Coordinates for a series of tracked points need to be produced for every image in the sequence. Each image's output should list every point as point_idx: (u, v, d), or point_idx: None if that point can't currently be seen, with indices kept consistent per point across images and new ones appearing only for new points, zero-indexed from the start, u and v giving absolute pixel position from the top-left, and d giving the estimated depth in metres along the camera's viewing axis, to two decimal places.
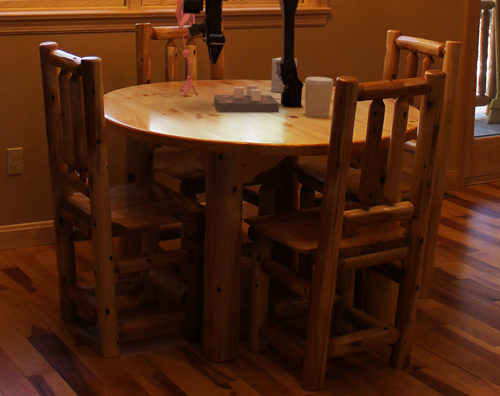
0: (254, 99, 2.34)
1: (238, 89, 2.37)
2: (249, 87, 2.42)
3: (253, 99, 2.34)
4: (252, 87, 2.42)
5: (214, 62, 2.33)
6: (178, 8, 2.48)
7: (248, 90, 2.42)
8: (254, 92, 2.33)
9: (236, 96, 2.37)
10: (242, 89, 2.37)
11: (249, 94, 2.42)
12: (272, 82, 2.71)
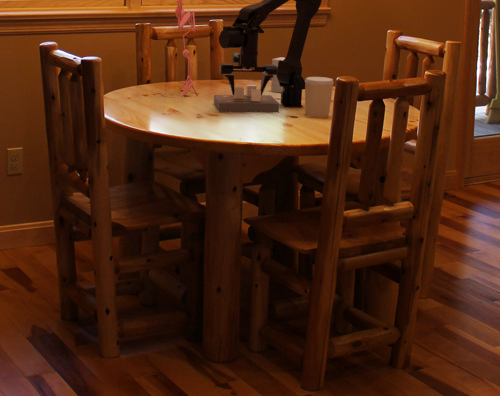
0: (254, 99, 2.34)
1: (238, 89, 2.37)
2: (249, 87, 2.42)
3: (253, 99, 2.34)
4: (252, 87, 2.42)
5: (232, 93, 2.33)
6: (178, 8, 2.48)
7: (248, 90, 2.42)
8: (254, 92, 2.33)
9: (236, 96, 2.37)
10: (242, 89, 2.37)
11: (249, 94, 2.42)
12: (272, 82, 2.71)
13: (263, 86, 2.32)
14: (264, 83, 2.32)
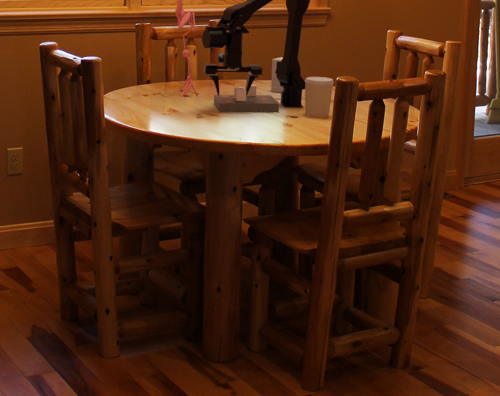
0: (239, 99, 2.33)
1: None
2: None
3: (238, 99, 2.33)
4: (252, 87, 2.42)
5: (217, 93, 2.32)
6: (178, 8, 2.48)
7: None
8: (239, 92, 2.32)
9: None
10: None
11: (249, 94, 2.42)
12: (272, 82, 2.71)
13: (248, 86, 2.32)
14: (249, 83, 2.31)
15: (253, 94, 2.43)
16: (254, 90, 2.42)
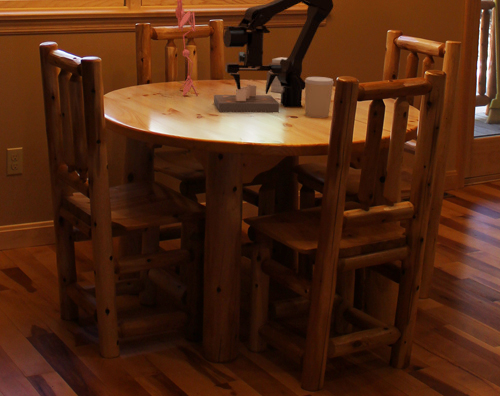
0: (239, 99, 2.33)
1: None
2: (249, 87, 2.42)
3: (238, 99, 2.33)
4: (252, 87, 2.42)
5: None
6: (178, 8, 2.48)
7: None
8: (239, 92, 2.32)
9: None
10: (248, 89, 2.37)
11: (249, 94, 2.42)
12: (272, 82, 2.71)
13: (268, 84, 2.37)
14: (269, 82, 2.37)
15: (253, 94, 2.43)
16: (254, 90, 2.42)
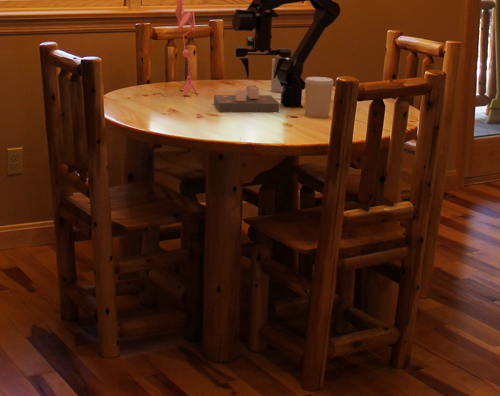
0: (239, 99, 2.33)
1: (253, 89, 2.37)
2: None
3: (238, 99, 2.33)
4: None
5: (246, 76, 2.37)
6: (178, 8, 2.48)
7: (248, 90, 2.42)
8: (239, 92, 2.32)
9: (251, 96, 2.38)
10: (257, 89, 2.38)
11: None
12: (272, 82, 2.71)
13: (277, 69, 2.37)
14: (278, 66, 2.36)
15: None
16: None
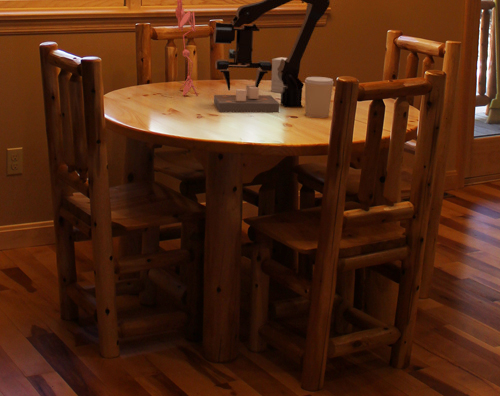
0: (239, 99, 2.33)
1: (253, 89, 2.37)
2: None
3: (238, 99, 2.33)
4: None
5: (228, 88, 2.42)
6: (178, 8, 2.48)
7: (248, 90, 2.42)
8: (239, 92, 2.32)
9: (251, 96, 2.38)
10: (257, 89, 2.38)
11: None
12: (272, 82, 2.71)
13: (258, 81, 2.41)
14: (259, 79, 2.40)
15: None
16: None
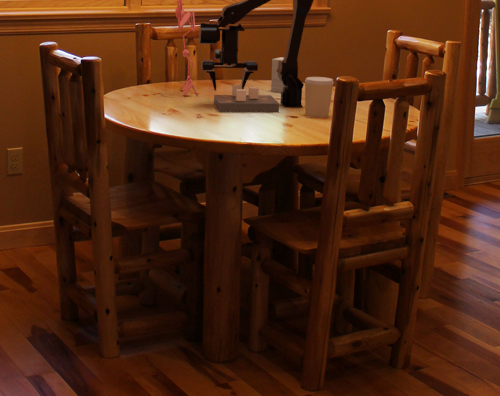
0: (239, 99, 2.33)
1: (253, 89, 2.37)
2: (235, 87, 2.41)
3: (238, 99, 2.33)
4: (238, 87, 2.41)
5: (214, 88, 2.41)
6: (178, 8, 2.48)
7: (234, 90, 2.41)
8: (239, 92, 2.32)
9: (251, 96, 2.38)
10: (257, 89, 2.38)
11: (235, 94, 2.42)
12: (272, 82, 2.71)
13: (244, 82, 2.40)
14: (245, 79, 2.39)
15: None
16: None
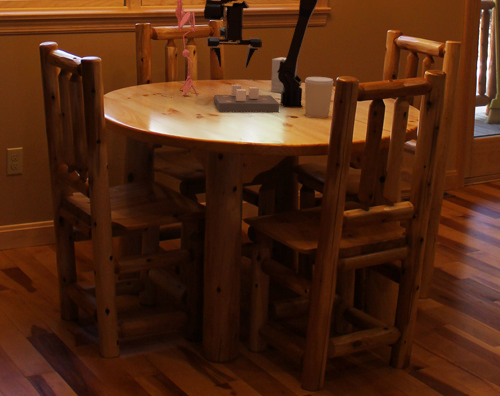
0: (239, 99, 2.33)
1: (253, 89, 2.37)
2: (234, 87, 2.41)
3: (238, 99, 2.33)
4: (237, 87, 2.41)
5: (219, 65, 2.45)
6: (178, 8, 2.48)
7: (233, 90, 2.41)
8: (239, 92, 2.32)
9: (251, 96, 2.38)
10: (257, 89, 2.38)
11: (234, 94, 2.41)
12: (272, 82, 2.71)
13: (248, 58, 2.45)
14: (249, 55, 2.44)
15: None
16: None
